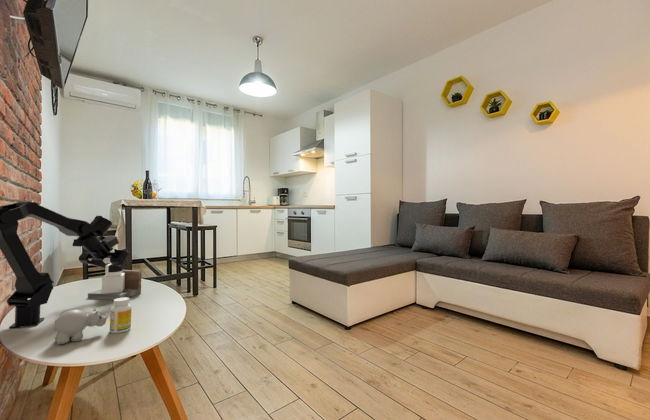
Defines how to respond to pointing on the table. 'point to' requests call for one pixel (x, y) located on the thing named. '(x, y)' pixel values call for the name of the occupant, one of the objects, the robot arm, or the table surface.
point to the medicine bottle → (113, 280)
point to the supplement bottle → (120, 315)
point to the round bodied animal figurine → (76, 324)
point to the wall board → (130, 288)
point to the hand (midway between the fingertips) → (115, 267)
